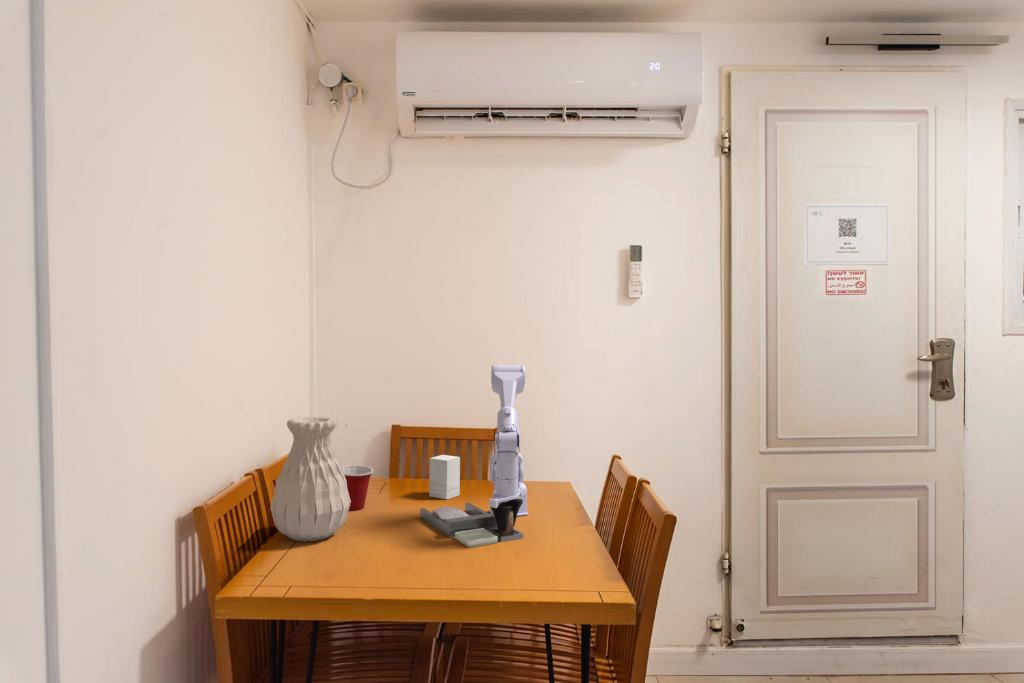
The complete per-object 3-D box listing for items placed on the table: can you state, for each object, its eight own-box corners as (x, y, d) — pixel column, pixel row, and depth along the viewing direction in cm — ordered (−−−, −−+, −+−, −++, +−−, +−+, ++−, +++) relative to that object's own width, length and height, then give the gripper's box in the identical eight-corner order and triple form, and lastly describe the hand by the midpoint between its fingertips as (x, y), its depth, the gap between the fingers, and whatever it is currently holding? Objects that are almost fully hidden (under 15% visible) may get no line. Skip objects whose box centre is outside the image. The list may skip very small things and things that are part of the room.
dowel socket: (511, 531, 177) (511, 526, 177) (523, 538, 171) (523, 533, 171) (489, 534, 173) (489, 530, 173) (500, 541, 168) (501, 537, 168)
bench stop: (468, 510, 196) (468, 497, 196) (501, 529, 178) (502, 515, 178) (420, 516, 189) (420, 503, 189) (449, 537, 170) (449, 522, 170)
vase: (365, 535, 171) (367, 420, 170) (293, 553, 157) (294, 428, 156) (326, 519, 185) (327, 412, 184) (256, 534, 171) (257, 419, 170)
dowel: (508, 531, 175) (509, 509, 175) (515, 535, 172) (515, 512, 171) (496, 533, 173) (497, 510, 173) (503, 537, 170) (503, 514, 170)
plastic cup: (351, 515, 189) (352, 474, 189) (328, 508, 196) (328, 468, 195) (380, 507, 198) (381, 468, 197) (357, 501, 204) (357, 463, 204)
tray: (483, 533, 174) (483, 528, 174) (497, 542, 167) (497, 536, 167) (454, 538, 170) (455, 532, 170) (468, 547, 163) (468, 541, 163)
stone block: (459, 523, 189) (427, 521, 184) (462, 507, 190) (431, 504, 185) (478, 536, 179) (445, 534, 174) (481, 519, 179) (449, 516, 174)
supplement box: (460, 495, 214) (461, 456, 214) (446, 500, 208) (446, 460, 208) (442, 492, 218) (443, 454, 218) (428, 496, 212) (428, 457, 212)
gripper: (507, 470, 180) (506, 519, 180) (479, 480, 168) (478, 533, 168) (530, 473, 177) (529, 523, 177) (503, 484, 164) (502, 538, 164)
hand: (506, 528), depth 172 cm, fingers closed on dowel, 4 cm apart
